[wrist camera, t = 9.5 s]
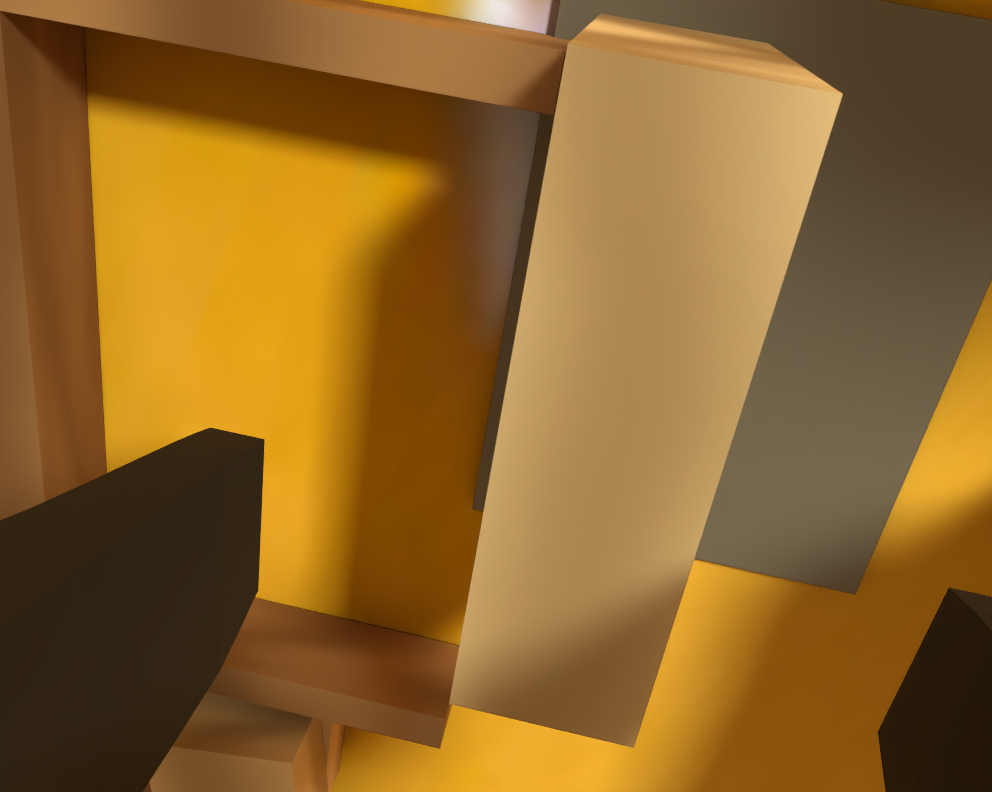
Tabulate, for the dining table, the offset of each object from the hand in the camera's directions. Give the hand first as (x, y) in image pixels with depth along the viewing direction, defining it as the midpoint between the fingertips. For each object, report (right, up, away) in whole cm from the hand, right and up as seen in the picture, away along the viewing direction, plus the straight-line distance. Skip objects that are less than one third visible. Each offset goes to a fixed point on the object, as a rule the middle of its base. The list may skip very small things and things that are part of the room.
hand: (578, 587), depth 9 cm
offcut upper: (-7, -7, +14) cm, 18 cm away
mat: (+4, +4, +9) cm, 10 cm away
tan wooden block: (+2, +4, +9) cm, 10 cm away
